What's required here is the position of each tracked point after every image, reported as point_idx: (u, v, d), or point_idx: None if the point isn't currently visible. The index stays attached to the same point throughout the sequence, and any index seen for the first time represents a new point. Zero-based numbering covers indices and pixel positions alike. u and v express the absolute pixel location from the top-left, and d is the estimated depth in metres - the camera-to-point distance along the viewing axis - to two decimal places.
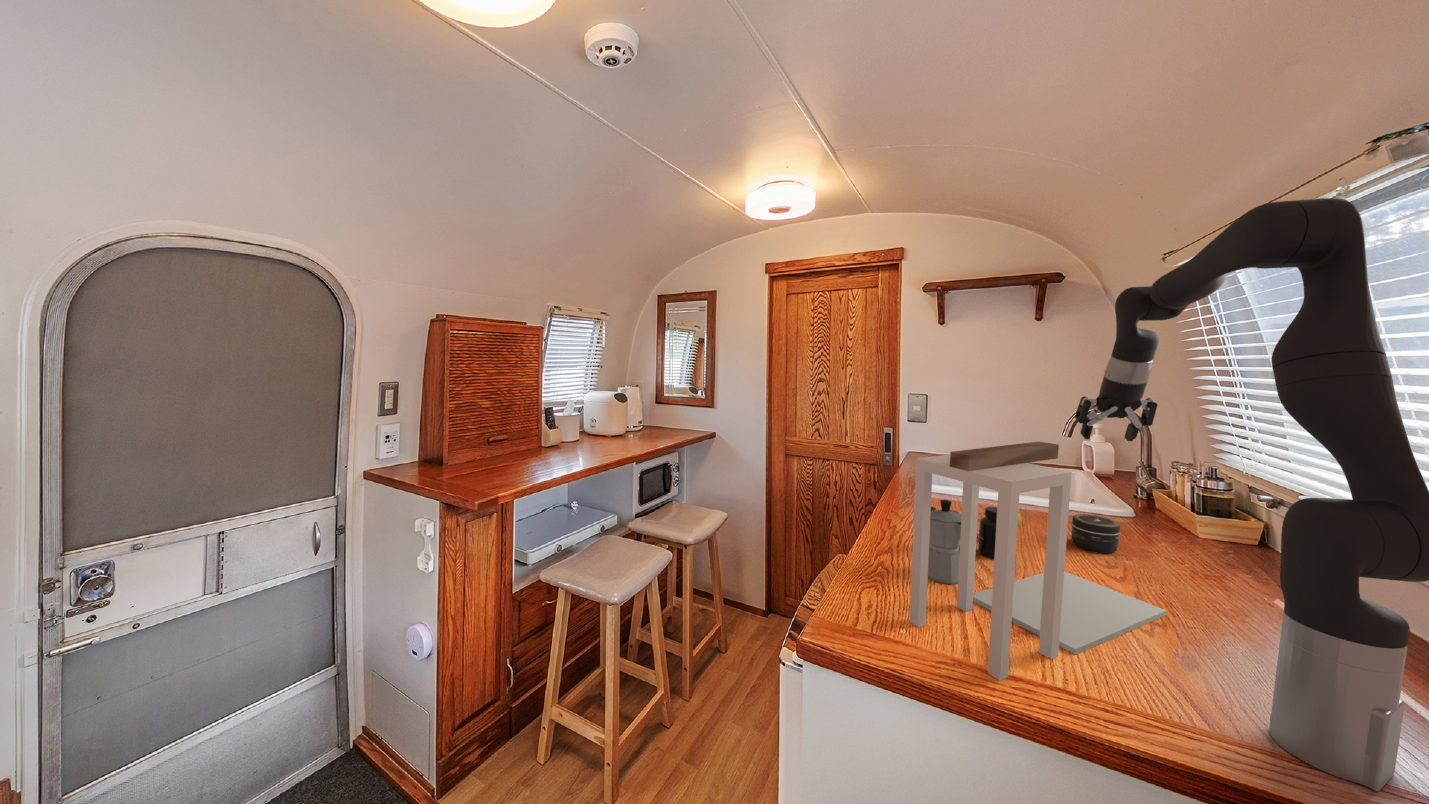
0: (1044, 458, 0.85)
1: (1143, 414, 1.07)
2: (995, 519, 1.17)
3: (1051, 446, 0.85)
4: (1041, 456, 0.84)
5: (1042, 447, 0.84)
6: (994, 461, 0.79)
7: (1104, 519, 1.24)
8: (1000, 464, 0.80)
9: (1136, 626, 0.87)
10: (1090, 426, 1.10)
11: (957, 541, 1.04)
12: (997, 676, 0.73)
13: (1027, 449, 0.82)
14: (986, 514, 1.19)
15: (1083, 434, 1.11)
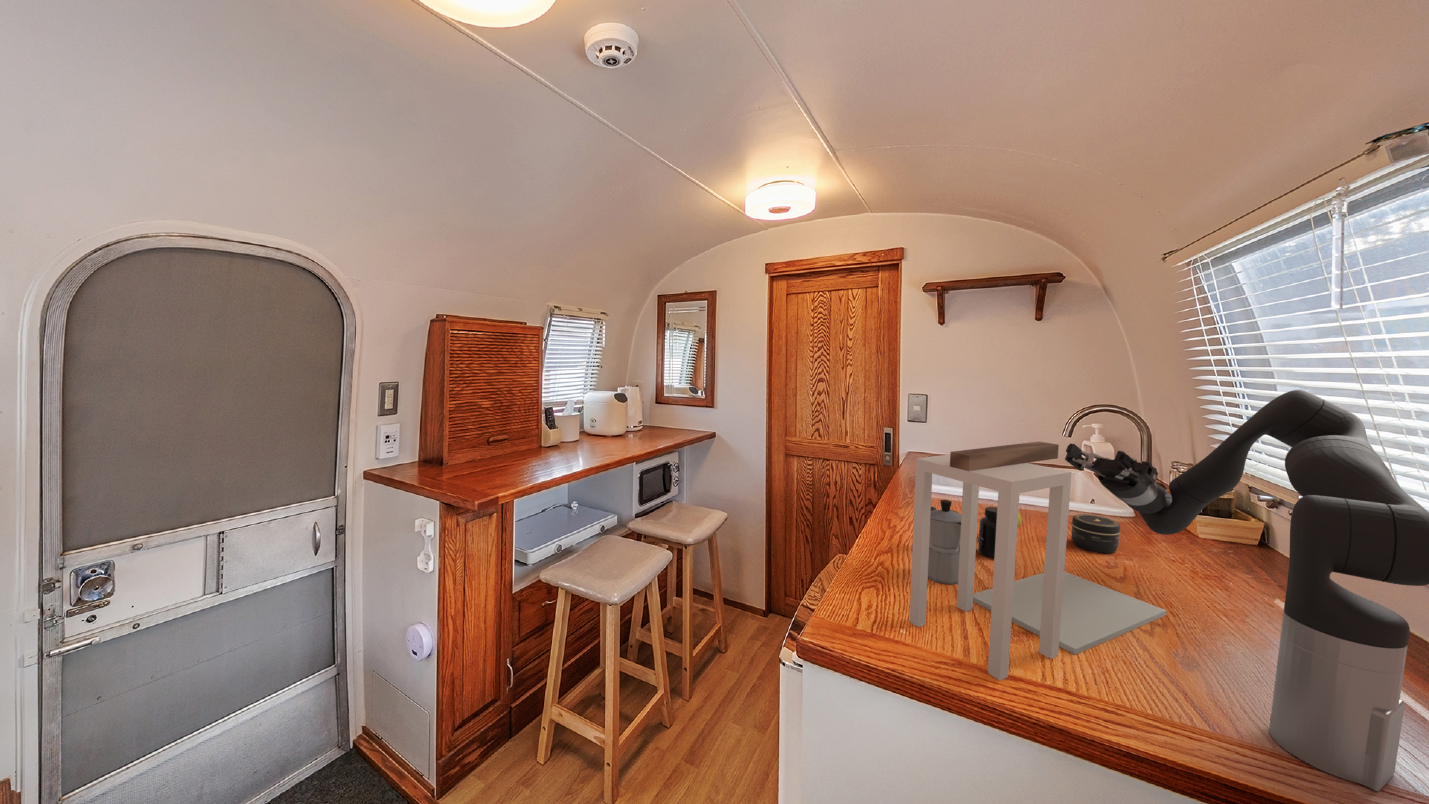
0: (1044, 458, 0.85)
1: None
2: (995, 519, 1.17)
3: (1051, 446, 0.85)
4: (1041, 456, 0.84)
5: (1042, 447, 0.84)
6: (994, 461, 0.79)
7: (1104, 519, 1.24)
8: (1000, 464, 0.80)
9: (1136, 626, 0.87)
10: None
11: (957, 541, 1.04)
12: (997, 676, 0.73)
13: (1027, 449, 0.82)
14: (986, 514, 1.19)
15: None
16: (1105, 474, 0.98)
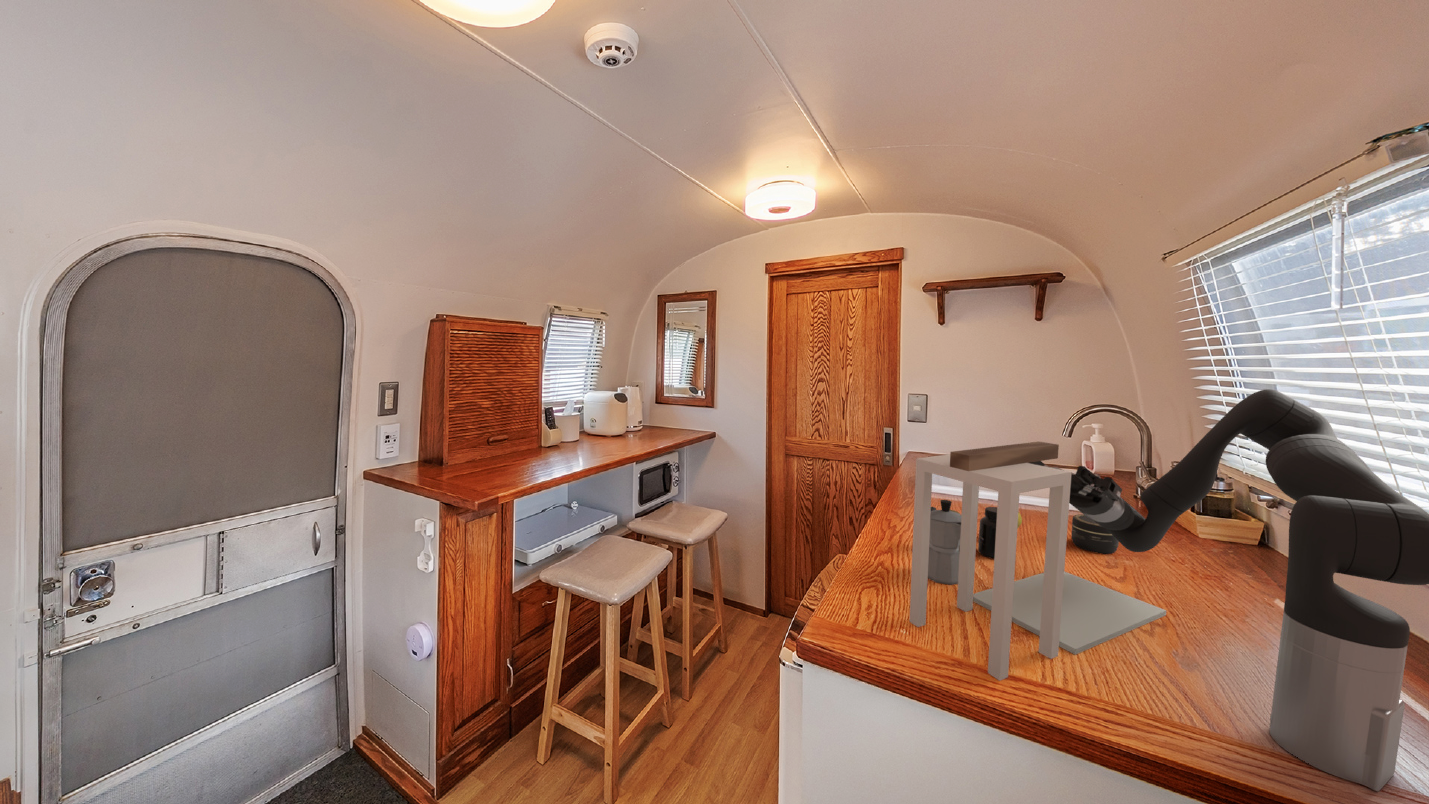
0: (1044, 458, 0.85)
1: None
2: (995, 519, 1.17)
3: (1051, 446, 0.85)
4: (1041, 456, 0.84)
5: (1042, 447, 0.84)
6: (994, 461, 0.79)
7: None
8: (1000, 464, 0.80)
9: (1136, 626, 0.87)
10: None
11: (957, 541, 1.04)
12: (997, 676, 0.73)
13: (1027, 449, 0.82)
14: (986, 514, 1.19)
15: None
16: None
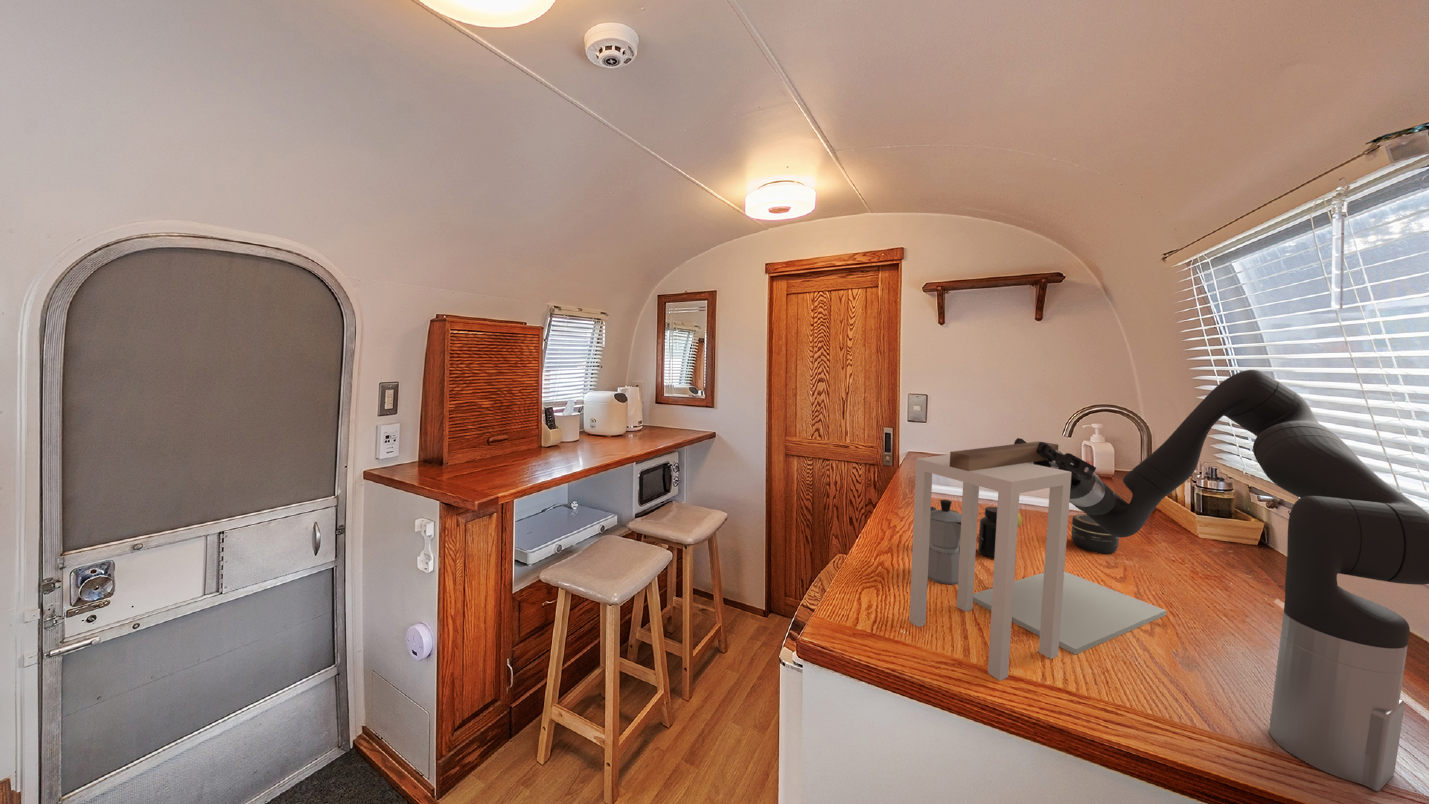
0: None
1: None
2: (995, 519, 1.17)
3: (1051, 446, 0.85)
4: (1041, 456, 0.84)
5: None
6: (993, 461, 0.79)
7: None
8: (1000, 464, 0.80)
9: (1136, 626, 0.87)
10: None
11: (957, 541, 1.04)
12: (997, 676, 0.73)
13: (1027, 449, 0.82)
14: (986, 514, 1.19)
15: None
16: None
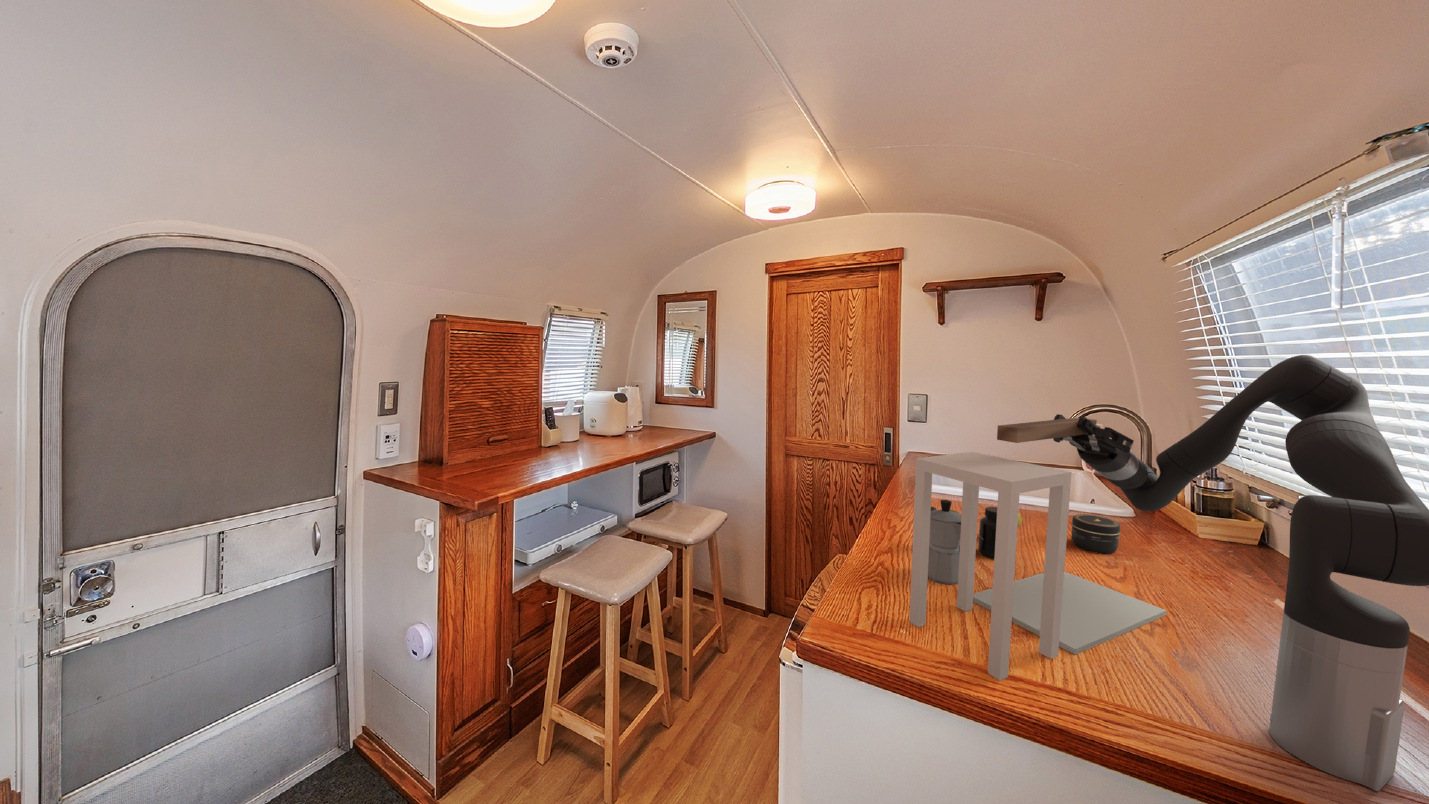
0: (1083, 432, 0.89)
1: None
2: (995, 519, 1.17)
3: None
4: (1081, 430, 0.89)
5: None
6: (1039, 433, 0.83)
7: (1104, 519, 1.24)
8: (1045, 437, 0.84)
9: (1136, 626, 0.87)
10: None
11: (957, 541, 1.04)
12: (997, 676, 0.73)
13: (1068, 423, 0.87)
14: (986, 514, 1.19)
15: None
16: (1085, 447, 0.94)
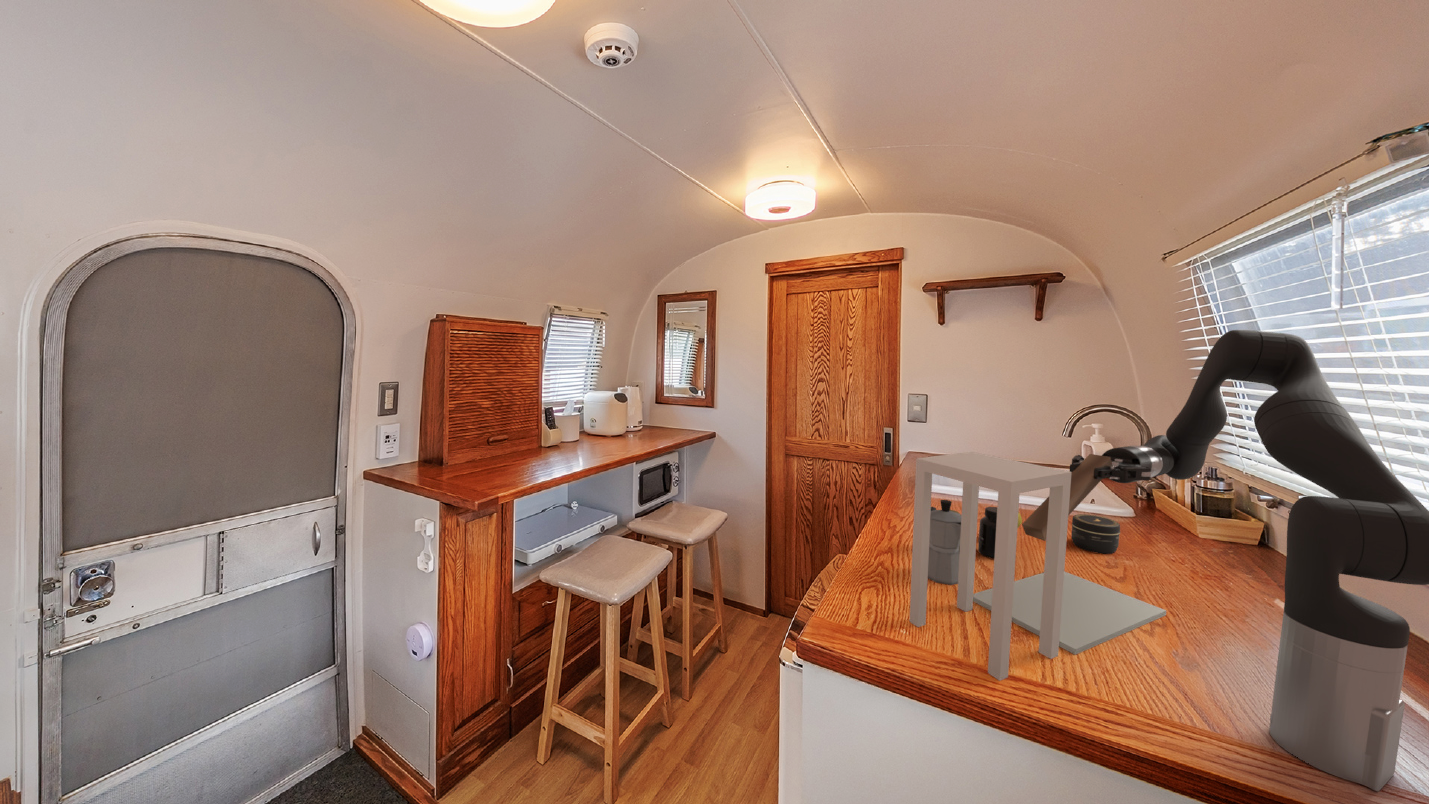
0: None
1: (1127, 477, 0.92)
2: (995, 519, 1.17)
3: (1104, 463, 0.93)
4: None
5: None
6: None
7: (1104, 519, 1.24)
8: None
9: (1136, 626, 0.87)
10: None
11: (957, 541, 1.04)
12: (997, 676, 0.73)
13: (1085, 484, 0.91)
14: (986, 514, 1.19)
15: None
16: None
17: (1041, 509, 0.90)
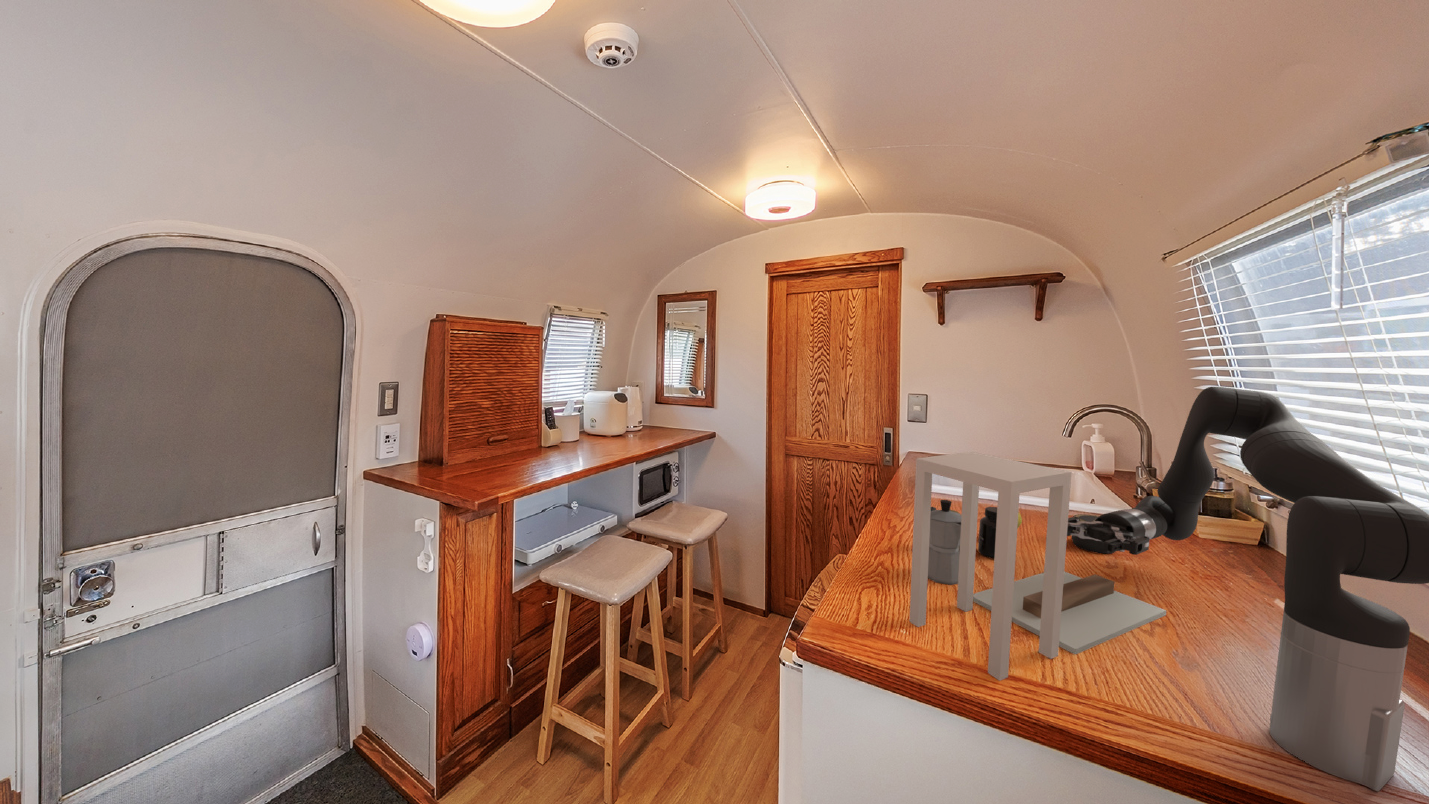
0: (1102, 595, 0.96)
1: None
2: (995, 519, 1.17)
3: (1108, 584, 0.97)
4: (1100, 594, 0.96)
5: (1101, 586, 0.96)
6: (1062, 606, 0.91)
7: None
8: (1067, 607, 0.92)
9: (1136, 626, 0.87)
10: (1068, 524, 1.00)
11: (957, 541, 1.04)
12: (997, 676, 0.73)
13: (1089, 590, 0.94)
14: (986, 514, 1.19)
15: None
16: None
17: None
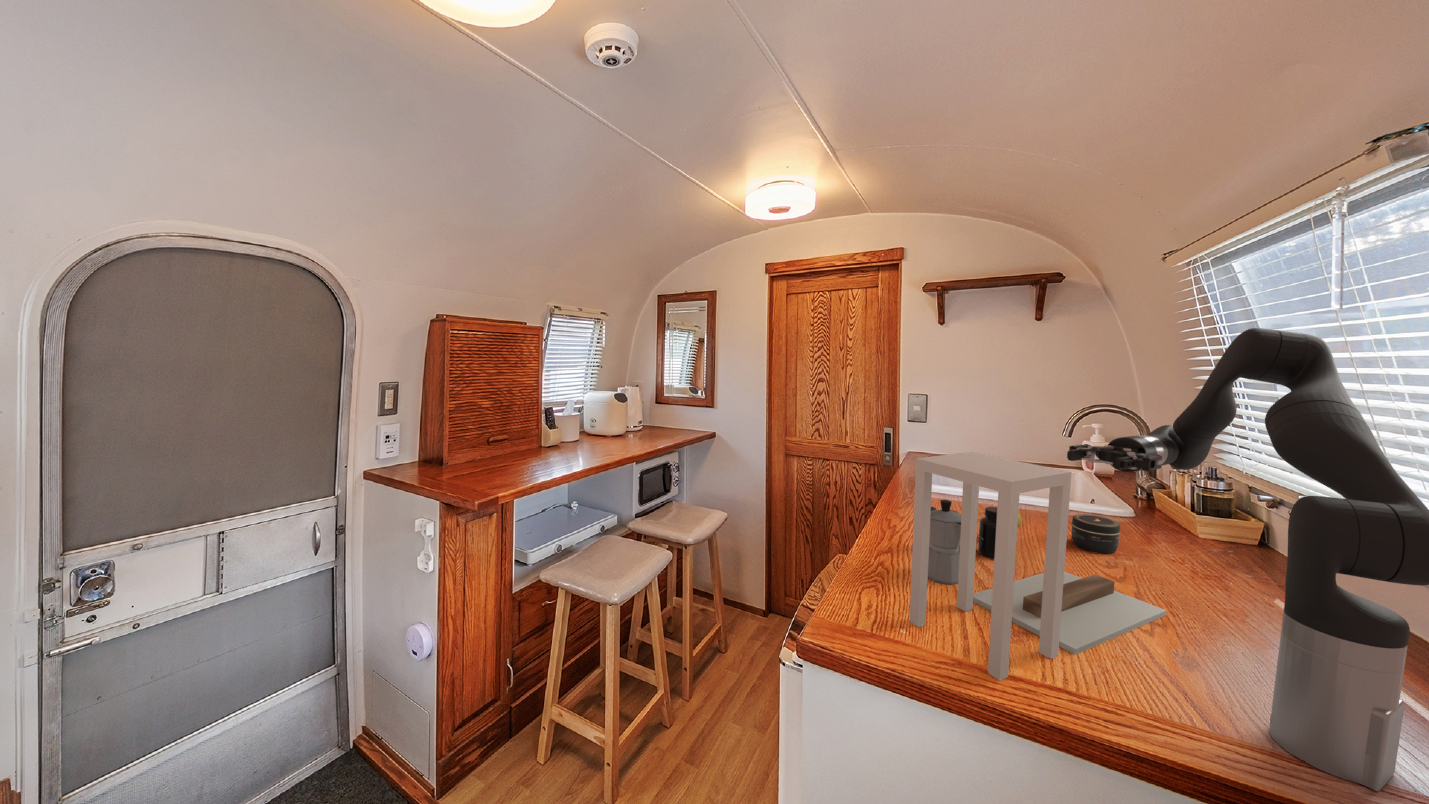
0: (1102, 595, 0.96)
1: None
2: (995, 519, 1.17)
3: (1108, 584, 0.97)
4: (1100, 594, 0.96)
5: (1101, 586, 0.96)
6: (1062, 606, 0.91)
7: (1104, 519, 1.24)
8: (1067, 607, 0.92)
9: (1136, 626, 0.87)
10: (1079, 449, 1.00)
11: (957, 541, 1.04)
12: (997, 676, 0.73)
13: (1089, 590, 0.94)
14: (986, 514, 1.19)
15: None
16: (1112, 462, 0.99)
17: None
